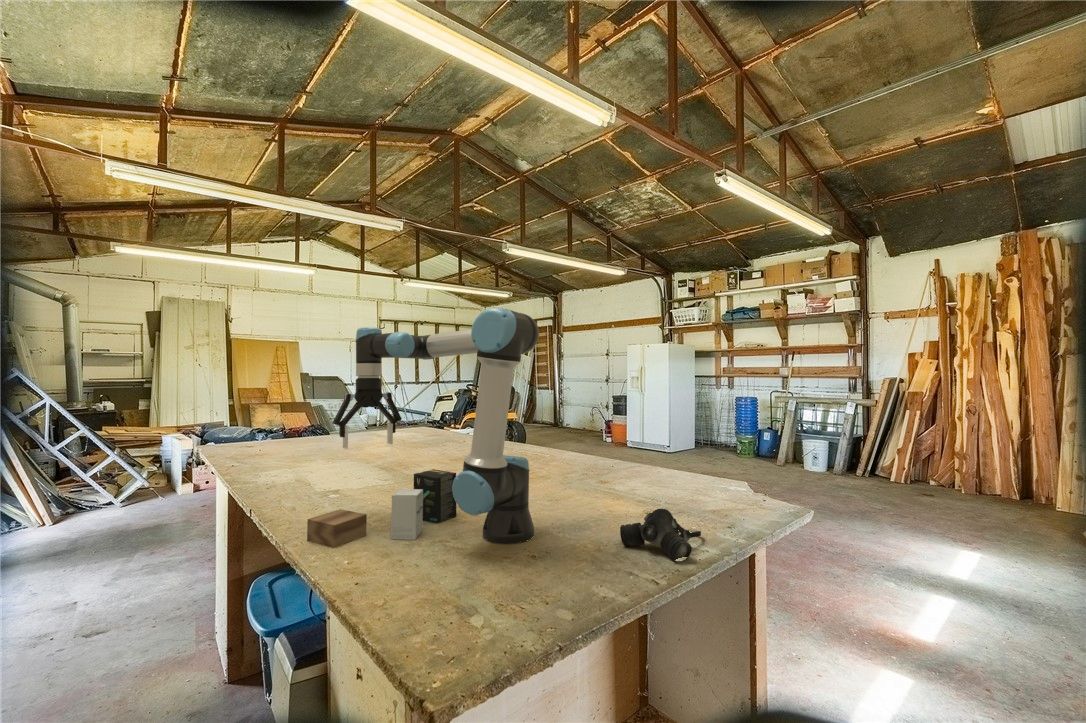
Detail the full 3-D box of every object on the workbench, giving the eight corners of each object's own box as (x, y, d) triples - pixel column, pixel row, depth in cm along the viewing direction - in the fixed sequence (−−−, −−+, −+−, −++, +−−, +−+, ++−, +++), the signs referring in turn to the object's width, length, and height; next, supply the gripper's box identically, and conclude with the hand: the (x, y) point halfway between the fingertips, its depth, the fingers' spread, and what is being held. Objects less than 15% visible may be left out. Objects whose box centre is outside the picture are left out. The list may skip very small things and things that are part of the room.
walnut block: (366, 535, 135) (366, 514, 135) (333, 547, 125) (334, 525, 125) (340, 529, 140) (340, 509, 140) (307, 540, 130) (307, 519, 130)
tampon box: (457, 516, 153) (457, 472, 153) (436, 524, 145) (437, 477, 146) (433, 511, 159) (433, 468, 159) (412, 518, 151) (413, 473, 152)
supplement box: (416, 540, 131) (416, 495, 132) (390, 539, 131) (390, 494, 132) (423, 531, 139) (423, 488, 139) (398, 531, 139) (399, 488, 139)
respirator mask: (610, 537, 127) (629, 488, 134) (642, 569, 138) (658, 523, 146) (679, 557, 113) (696, 502, 120) (707, 591, 125) (721, 539, 132)
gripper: (403, 377, 155) (402, 440, 155) (322, 377, 140) (321, 448, 139) (411, 377, 149) (411, 443, 149) (328, 377, 134) (328, 451, 133)
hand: (368, 445), depth 144 cm, fingers open, 13 cm apart
